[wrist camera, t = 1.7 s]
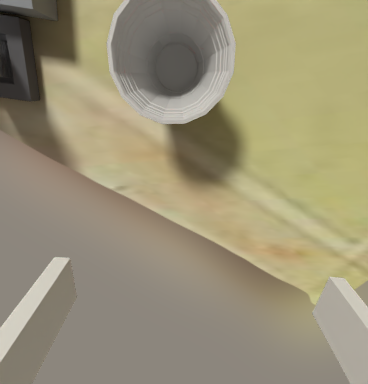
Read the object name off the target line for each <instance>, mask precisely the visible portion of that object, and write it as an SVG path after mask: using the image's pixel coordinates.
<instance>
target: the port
mask: <svg viewBox="0 0 368 384" xmlns="http://www.w3.org/2000/svg"><path fill="white" fill-rule="evenodd" d="M0 12H2V13H8V14H15V15H22V16H28V17H35V18H41V19H48V20H55V21H58V14H57V3H56V0H0Z"/></svg>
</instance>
